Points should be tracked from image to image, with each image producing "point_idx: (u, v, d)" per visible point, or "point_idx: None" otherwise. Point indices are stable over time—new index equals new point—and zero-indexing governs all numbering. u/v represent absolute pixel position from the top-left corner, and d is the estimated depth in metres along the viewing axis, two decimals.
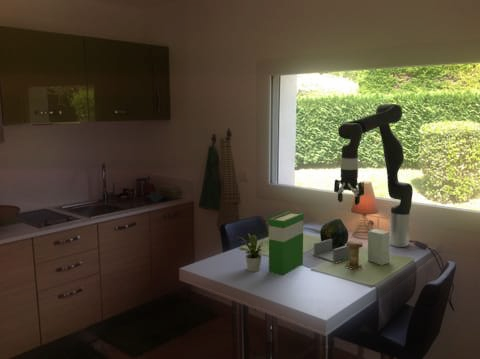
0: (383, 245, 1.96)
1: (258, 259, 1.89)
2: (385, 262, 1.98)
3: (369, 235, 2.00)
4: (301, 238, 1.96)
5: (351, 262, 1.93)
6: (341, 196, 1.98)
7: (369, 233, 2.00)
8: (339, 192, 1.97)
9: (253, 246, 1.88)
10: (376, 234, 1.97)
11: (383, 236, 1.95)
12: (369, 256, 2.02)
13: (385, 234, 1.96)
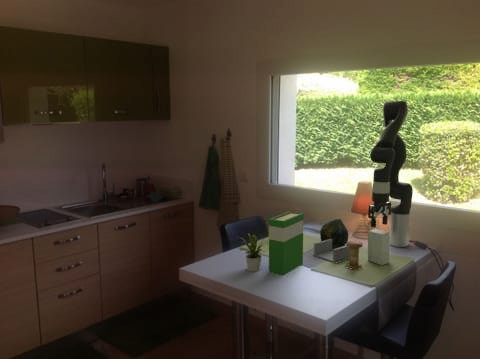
0: (383, 245, 1.96)
1: (258, 259, 1.89)
2: (385, 262, 1.98)
3: (369, 235, 2.00)
4: (301, 238, 1.96)
5: (351, 262, 1.93)
6: None
7: (369, 233, 2.00)
8: (376, 217, 1.94)
9: (253, 246, 1.88)
10: (376, 234, 1.97)
11: (383, 236, 1.95)
12: (369, 256, 2.02)
13: (385, 234, 1.96)
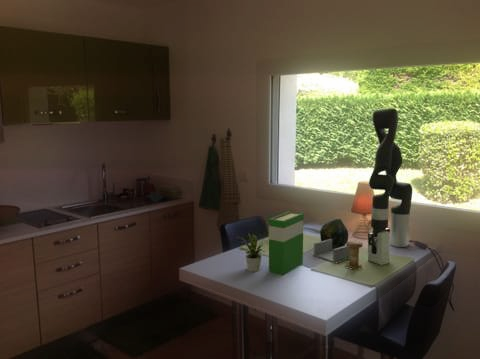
0: (383, 245, 1.96)
1: (258, 259, 1.89)
2: (385, 262, 1.98)
3: None
4: (301, 238, 1.96)
5: (351, 262, 1.93)
6: None
7: None
8: (376, 244, 1.97)
9: (253, 246, 1.88)
10: None
11: (383, 236, 1.95)
12: (369, 256, 2.02)
13: (385, 234, 1.96)
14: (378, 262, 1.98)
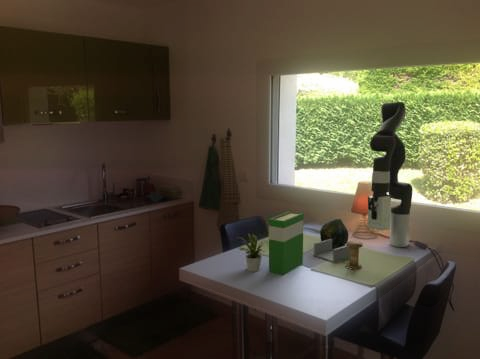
0: (384, 209, 1.87)
1: (258, 259, 1.89)
2: (385, 228, 1.88)
3: None
4: (301, 238, 1.96)
5: (351, 262, 1.93)
6: None
7: None
8: (376, 209, 1.88)
9: (253, 246, 1.88)
10: None
11: (384, 200, 1.86)
12: (369, 222, 1.92)
13: (386, 198, 1.87)
14: (378, 228, 1.88)
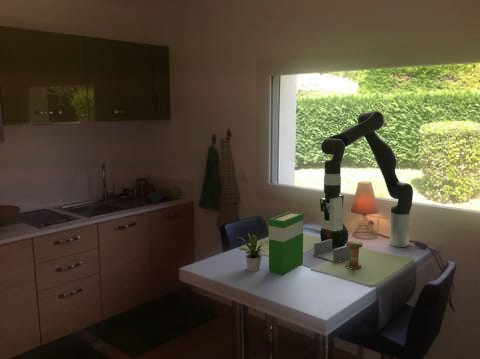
0: (335, 211, 1.92)
1: (258, 259, 1.89)
2: (338, 229, 1.94)
3: None
4: (301, 238, 1.96)
5: (351, 262, 1.93)
6: None
7: None
8: None
9: (253, 246, 1.88)
10: None
11: (335, 201, 1.91)
12: (323, 223, 1.98)
13: (337, 200, 1.92)
14: (331, 229, 1.94)
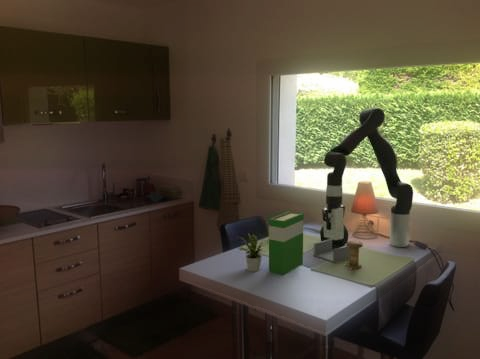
0: (337, 221, 2.02)
1: (258, 259, 1.89)
2: (339, 237, 2.04)
3: None
4: (301, 238, 1.96)
5: (351, 262, 1.93)
6: None
7: None
8: None
9: (253, 246, 1.88)
10: None
11: (337, 212, 2.01)
12: (324, 232, 2.08)
13: (339, 210, 2.02)
14: (332, 238, 2.04)
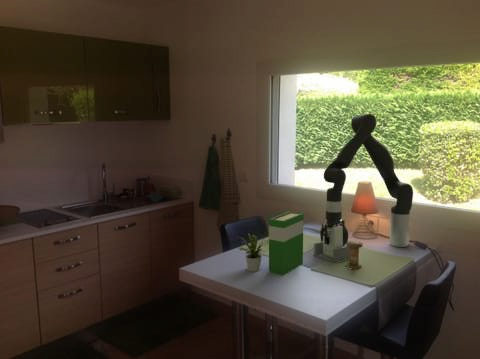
0: (336, 239, 2.03)
1: (258, 259, 1.89)
2: None
3: None
4: (301, 238, 1.96)
5: (351, 262, 1.93)
6: None
7: None
8: (329, 235, 2.04)
9: (253, 246, 1.88)
10: (330, 229, 2.04)
11: (336, 230, 2.02)
12: (324, 250, 2.09)
13: (338, 229, 2.03)
14: (332, 256, 2.05)
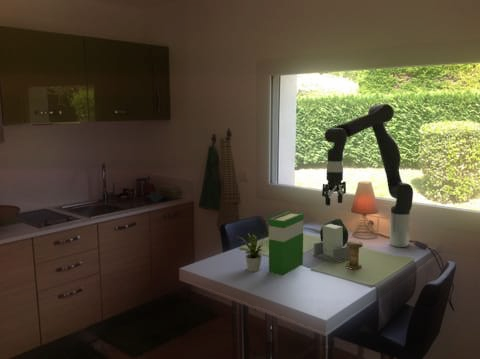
0: (336, 239, 2.03)
1: (258, 259, 1.89)
2: None
3: (324, 230, 2.07)
4: (301, 238, 1.96)
5: (351, 262, 1.93)
6: None
7: (324, 228, 2.07)
8: (330, 196, 2.01)
9: (253, 246, 1.88)
10: (330, 229, 2.04)
11: (336, 230, 2.02)
12: (324, 250, 2.09)
13: (338, 229, 2.03)
14: (332, 256, 2.05)
